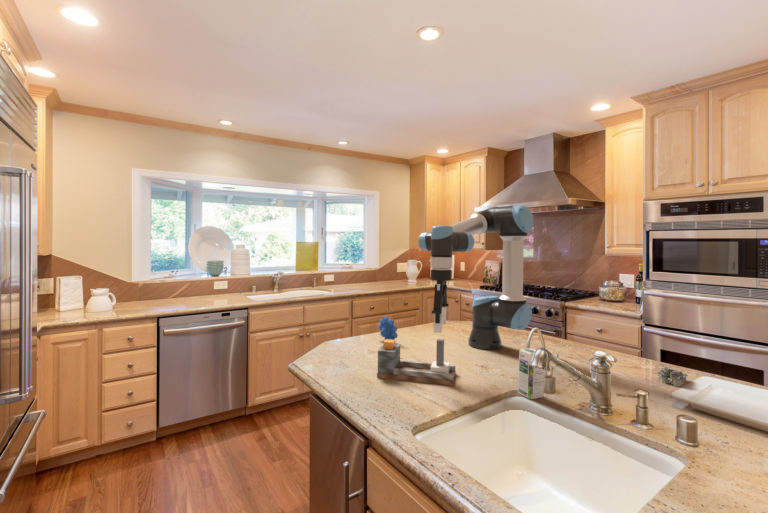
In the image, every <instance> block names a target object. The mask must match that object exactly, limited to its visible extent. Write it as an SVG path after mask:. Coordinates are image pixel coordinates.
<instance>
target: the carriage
mask: <svg viewBox="0 0 768 513" xmlns="http://www.w3.org/2000/svg"><path fill="white" fill-rule="evenodd" d="M450 365H451V363H450V362H449V361H447V362H446V361H445V338H444V339H441V338H437V339H436V360H433V361H432V365H431V367H430V372H438V373H448V374H449V370H450Z"/></svg>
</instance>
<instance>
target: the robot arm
mask: <svg viewBox="0 0 768 513" xmlns="http://www.w3.org/2000/svg"><path fill="white" fill-rule="evenodd" d="M533 227H534V217H533V213H532V211H531V209H530V208H529V207H528V206H526V205H522V204H521V205H517V204H516V205H515V204H514V205H505V206H493V207H490V208H489V207H488V208H486V209H484V210H481V211H479V212H476V213H473V214H472V215H470V216H469V218H466V219H463V220H461V221H458V222H456V223H453V224H450V225H433V226H432V227H431V232H429V231H426V232H422V233H421V234H419V236H418V240H417V243H418V247H419V249H421V250H422V251H425V252H426V251H427V252H430V259H429V260H428V261H429V263H430V268H431V269H430V278H429V279H430V280H431V281H436V284H434V294H433V295H434V296H433V297H434V298H433V308H432V310H431V314H433V333H437V334H442V332H443V327H442V326H443V325H447V308H448V307H449V303H448V297H447V296H448V294H447V293H448V291H447V290H448V285H447V282H448V281H452V280H453V270H452V269H453V253H467V252H470V251H471V250H472V249H474V246H475V239H474V235H482V234H485V233H496V234H497V233H499V238H500V239H501V240H502V282H501V283H502V287H501V290H502V291H501V292H502V293H501V295H500V296H497V295H487V296H486V295H484V296H476V297H474V298H473V299H472V306H471V307H472V328H471V331H470V334H469V337H468V339H467V340H468V343H467V344H468V346H470V347H472V348H475V349H479V350H498V349H500V348H502V338H501V336H500V332H499V327H502V328H507V329H511V330H519V331H523V330H525V329H526V328H527V326H528V325H529V324H530V321H531V319H532V315H533V311H532V306H531V305H530V304H529V303H527V297H525V296H524V295H523V294H524V241H525V240H526V239H527V238H528V233H530V232H532V230H533Z"/></svg>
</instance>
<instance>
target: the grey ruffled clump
mask: <svg viewBox="0 0 768 513" xmlns="http://www.w3.org/2000/svg"><path fill="white" fill-rule="evenodd" d="M656 373H657V377H658V380H659V381H658V382H660V381H661V382H663V383H662V384H664V383H666V384H667V383H671V384H670V385H672V384H673V385H675V386H674V387H683V386H682V385H684V384H685V383H686V382H687V377H688V373H686V372H682V371H681V370H680V371H678V370H677V369H674V368H669V367H667V366H665V367H664V368H663V369H660V370H659V371H657V372H656ZM667 376H670V377H667ZM661 382H660V383H661ZM673 385H672V386H673Z"/></svg>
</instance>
